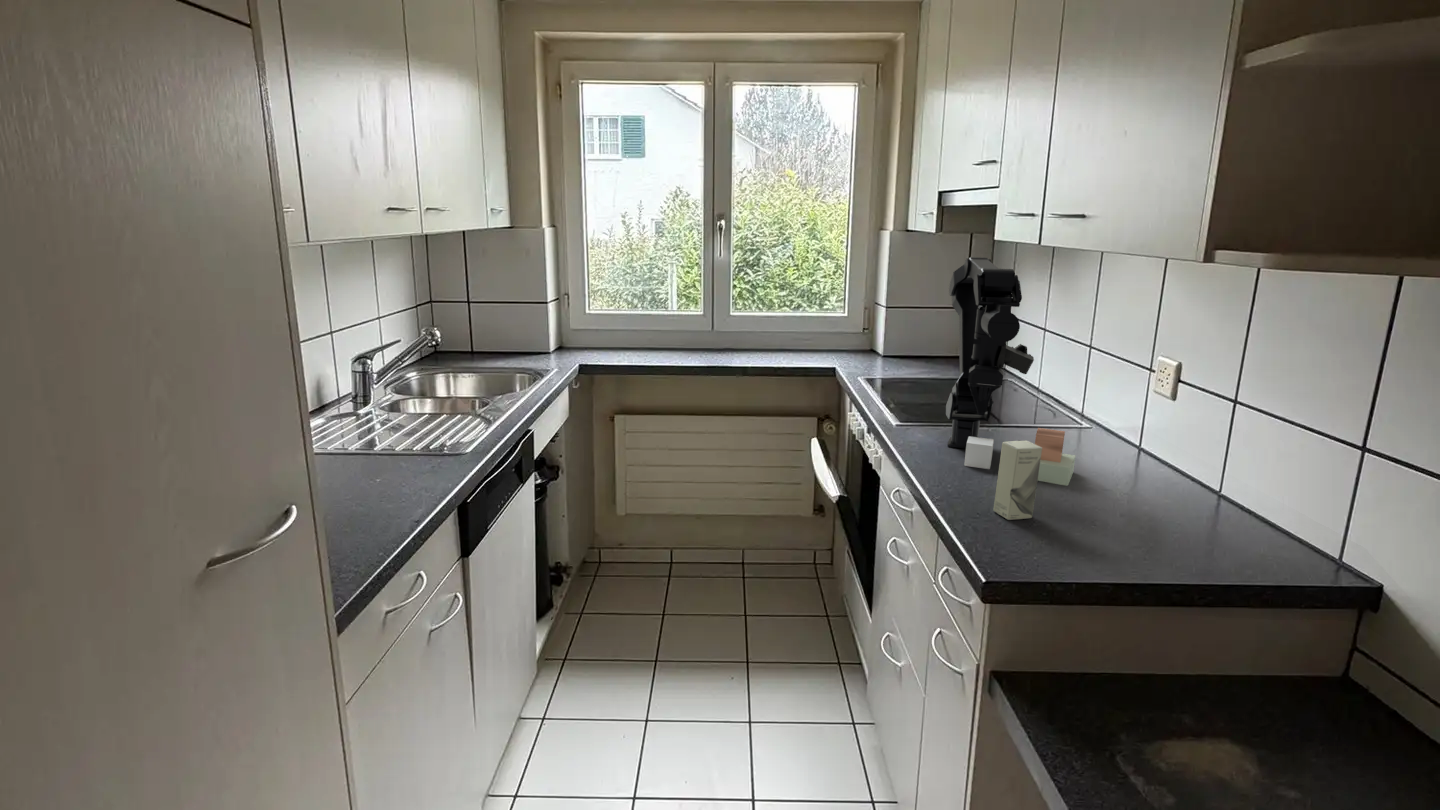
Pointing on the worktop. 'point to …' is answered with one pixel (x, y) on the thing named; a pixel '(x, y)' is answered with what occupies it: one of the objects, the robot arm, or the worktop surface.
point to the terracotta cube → (1050, 444)
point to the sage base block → (1057, 470)
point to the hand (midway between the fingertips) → (981, 409)
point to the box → (1017, 479)
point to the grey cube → (979, 452)
